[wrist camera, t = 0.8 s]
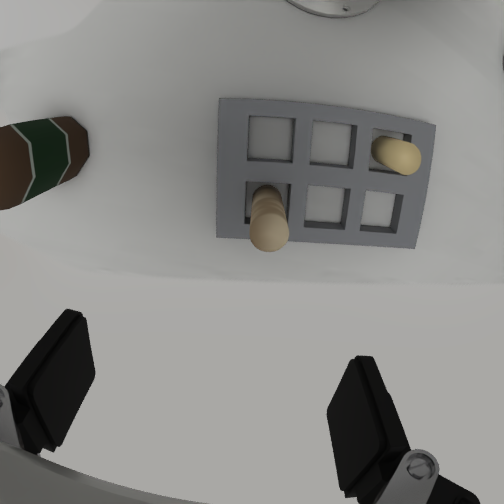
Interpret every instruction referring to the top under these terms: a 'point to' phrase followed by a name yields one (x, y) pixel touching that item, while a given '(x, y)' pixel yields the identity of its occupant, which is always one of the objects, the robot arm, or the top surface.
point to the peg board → (326, 172)
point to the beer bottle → (39, 157)
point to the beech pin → (268, 220)
